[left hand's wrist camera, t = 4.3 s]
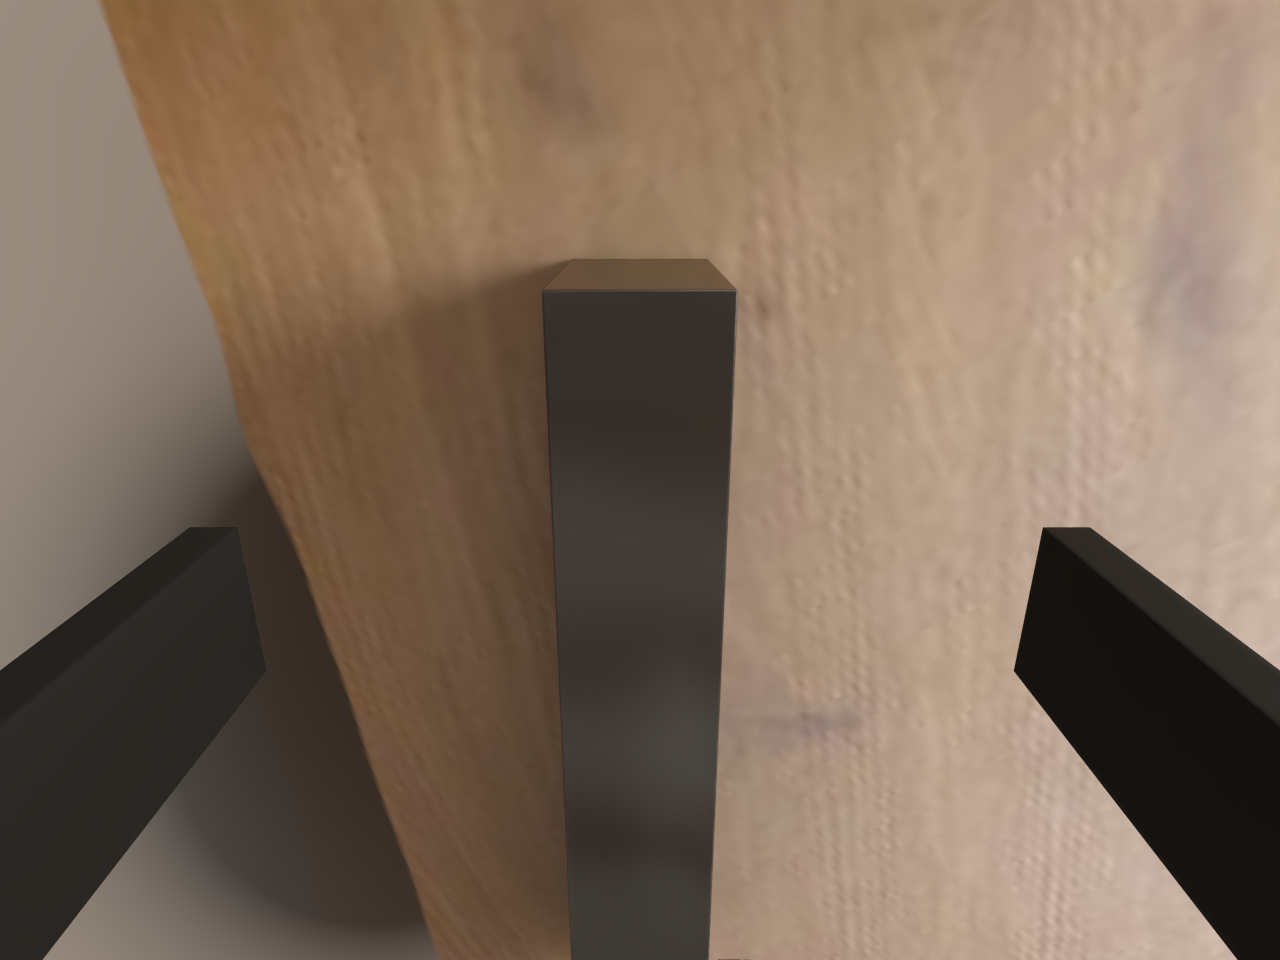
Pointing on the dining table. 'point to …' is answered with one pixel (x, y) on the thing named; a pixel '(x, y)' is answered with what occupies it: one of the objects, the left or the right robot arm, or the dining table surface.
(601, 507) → the beam
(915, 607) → the dining table surface
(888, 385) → the dining table surface
